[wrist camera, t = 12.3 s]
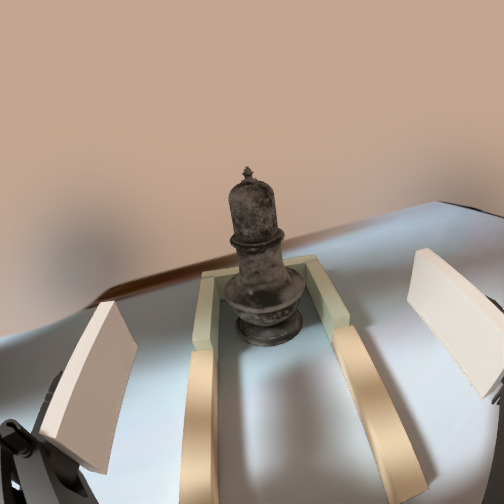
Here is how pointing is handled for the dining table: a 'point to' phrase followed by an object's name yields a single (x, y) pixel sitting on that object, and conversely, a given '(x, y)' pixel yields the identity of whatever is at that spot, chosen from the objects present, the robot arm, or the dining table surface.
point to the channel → (366, 401)
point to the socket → (215, 280)
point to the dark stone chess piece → (261, 269)
